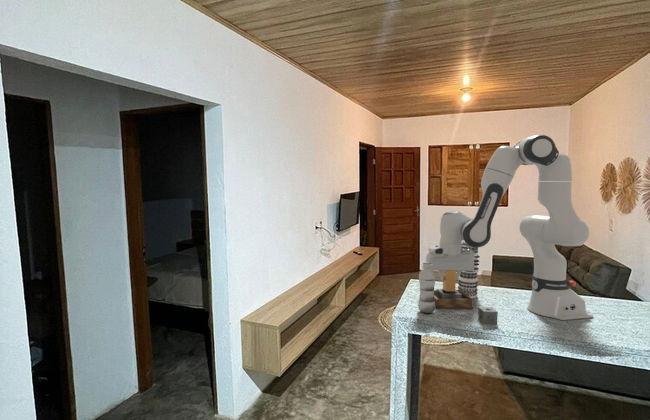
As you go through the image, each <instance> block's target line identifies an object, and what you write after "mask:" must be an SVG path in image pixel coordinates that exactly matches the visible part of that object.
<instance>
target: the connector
mask: <svg viewBox="0 0 650 420" xmlns="http://www.w3.org/2000/svg"><path fill="white" fill-rule="evenodd" d="M456 273H457V272H456V270H446V271H443V273H442V275H443V276H445V281H442V289H444V290H445V291H455V289H456V285H457V284H456V283H457V281H456Z"/></svg>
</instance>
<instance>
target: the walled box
mask: <svg viewBox="0 0 650 420" xmlns="http://www.w3.org/2000/svg"><path fill="white" fill-rule="evenodd" d="M434 301H435V310H448V309H449V310H460V309H461V310H464V309H465V310H468V309H469V310H472V309H473V298H470V297H469V296H467V295H466V294H465V293H464V292H462V291H461V290H458V289H457V288H455V291H445V290H444V289H443V288H436V289H434Z"/></svg>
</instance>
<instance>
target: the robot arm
mask: <svg viewBox="0 0 650 420" xmlns="http://www.w3.org/2000/svg"><path fill="white" fill-rule="evenodd" d="M522 165H523V166H533V165H534V166H536V168H537V170H538V182H537V183H538V184H537V186H538V187H537V200H538V203H539V204H540V205H542V206H543V207H545V209H546V210H547V213H548V215H541V214H536V215H535V214H534V215H527V216H524V217H523V218H522V220H521V221H520V224H519V232H520V234H521V235H522V237H523V238H524V239H525V240H526V241H527V243H528V244H529V246H530V249H531V252H532V254H533V255H532V256H533V274H532V277H531V278H532V279H531V288H532V289H531V295H530V299H529V303H528V304H527V307H526V309H528V311H530V312H532V313H534V314H536V315H540V316H544V317H547V318H548V317H549V318H553V319H557V320H560V321H569V320H570V321H571V320H578V319H589V318H593V317H594V315H593V313H592V312H591V311H590V310H588V309H587V305H586V302H585V299H584V298H583V297H582V296H580V295H579V294H577V293H576V292H575V291H574V290H573V289H571V287H576V285H577V282H576V281H574V280H569V279H567V266H568V265H567V260H566V258H565V256H564V255H563V254H561V253H560V252H559V251H558V250H557V248H556V245H558V246H561V247H562V246H563V247H580V246H582V245H584V244H585V243H586V242H587V241H588V239H589V237H590V229H589V226H588V225H587V223H586V222H585V221H583V220H582V219H581V218H580V217H579V216H578V215H577V213H576V210H575V208H574V206H573V203H572V183H573V182H572V178H573V177H572V176H573V173H572V164H571V159H570V157H569V156H568V155H566V154H564V153H561V152H559V150H558V148H557V146H556V143H555V142H554V140H553V139H552V138H551V136H547V135H544V134H536V135H532V136H528V137H526V138H523V140H520V141H519V142H517V143H516V144H515V145H514V146H513V147H512V146H510V145H501V146H500V147H498V148H497V149H495V151H494V152H493V154H491V157H490V159H489V160H488V162H487V164H486V167H485V169H484V170H483V173H482V176H481V180H480V187H481V190H482V197H481V201H480V204H479V206H478V209H477V211H476V213H475V216H474V218H472V217H469V216H468V215H466V214H463V213H462V212H461V211H459V210H455V211H453V210H452V211H447V212H445V213H443V214H442V215H441V217H440V218H441V219H440V225H439V232H440V239H439V243H436V244H434V245H430V246H429V247H428V248H427V249H428V253H427V254H426V258H425V263H426V262H427V263H432V264H433V265H432V267H433V268H432V271H433V272H435V271H436V272H438V274H439V276H440V281H441V282H443V281H445V276H443V271H446V270H456V282H459V281H458V280H459V275H460V274H461V271H472V270H473V269H474V259H473V258H474V251H473V250H471V249H461V244H462V243H463V242H466V243H467V244H468V245H469V246H471V247H476V248H478V249H479V248H481V247H482V248H483V247H485V246H486V245H487V244H489V242H490V240H491V237H492V236H491V235H492V230H491V229H492V227H491V226H492V223H493V219H494V217H495V215H496V212H497V210H498V207H499V204H500V203H501V200H502V198H503V197H504V195H505V193H506V192H507V190H508V188H509V186H510V185H511V183H512V181H513V179H514V176H515V174H516V172H517V170H518V169H519V167H520V166H522ZM570 286H571V287H570Z"/></svg>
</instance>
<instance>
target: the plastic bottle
mask: <svg viewBox="0 0 650 420" xmlns="http://www.w3.org/2000/svg"><path fill="white" fill-rule="evenodd" d="M432 265H433V264H432V263H427V262H426V261H425V262H423V263H422V270H421V271H420V272H419V274H418V281H419V298H418V304H417V306H418V310H419V312H421V313H425V314H426V313H427V314H431V313H434V312H435V311H436V308H435V301H434V290H435V285H436V279H437V277H436V273H435V271H432V268H433V267H432Z"/></svg>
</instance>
